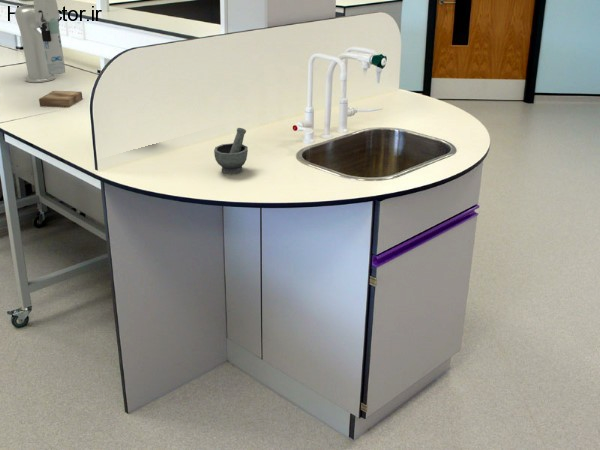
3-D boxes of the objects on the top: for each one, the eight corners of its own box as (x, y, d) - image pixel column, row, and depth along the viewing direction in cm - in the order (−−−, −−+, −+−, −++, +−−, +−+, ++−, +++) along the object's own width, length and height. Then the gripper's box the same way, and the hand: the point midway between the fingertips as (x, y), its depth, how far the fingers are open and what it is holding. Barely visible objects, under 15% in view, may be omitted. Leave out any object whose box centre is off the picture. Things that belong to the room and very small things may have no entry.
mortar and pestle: (233, 179, 203) (230, 139, 197) (208, 172, 208) (206, 133, 202) (258, 167, 211) (256, 128, 206) (234, 161, 216) (232, 123, 211)
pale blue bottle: (68, 72, 272) (59, 19, 264) (50, 75, 269) (41, 20, 261) (63, 69, 277) (55, 17, 269) (46, 72, 274) (37, 18, 266)
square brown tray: (54, 98, 285) (53, 90, 284) (82, 99, 283) (81, 91, 282) (40, 106, 274) (38, 98, 273) (69, 107, 272) (68, 99, 271)
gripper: (45, -13, 269) (53, 35, 276) (22, -8, 253) (31, 43, 261) (64, -13, 268) (71, 35, 275) (41, -8, 252) (50, 44, 260)
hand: (51, 39), depth 268 cm, fingers closed on pale blue bottle, 6 cm apart
